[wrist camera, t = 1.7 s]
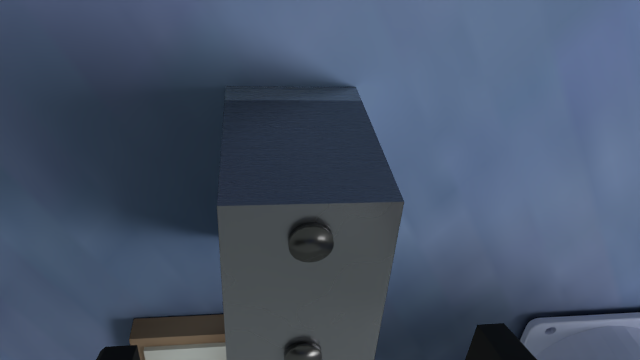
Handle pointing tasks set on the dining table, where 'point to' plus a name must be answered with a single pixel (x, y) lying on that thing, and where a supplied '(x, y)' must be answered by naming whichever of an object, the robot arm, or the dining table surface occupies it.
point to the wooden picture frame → (180, 338)
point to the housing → (303, 224)
